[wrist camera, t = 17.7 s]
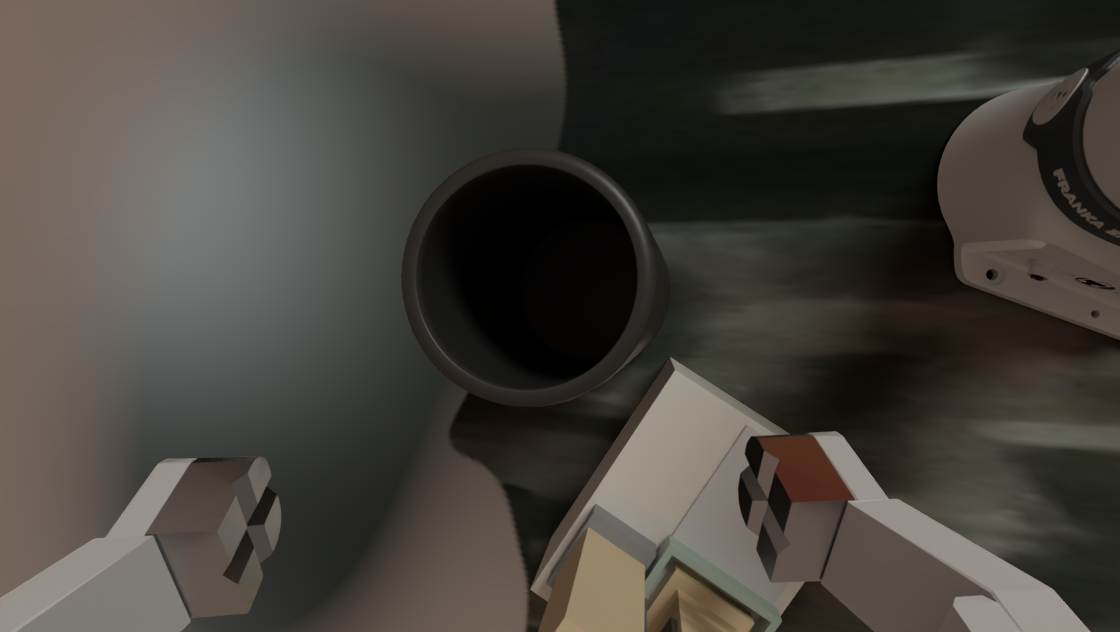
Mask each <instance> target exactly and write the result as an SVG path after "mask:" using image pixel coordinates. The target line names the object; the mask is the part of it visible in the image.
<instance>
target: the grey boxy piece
mask: <svg viewBox="0 0 1120 632" xmlns="http://www.w3.org/2000/svg"><path fill="white" fill-rule="evenodd" d="M787 434H789V433H788V432H786V431H785V430H783V429H781V428H780V427H778V426H777V425H775V424H774V423H772V422H771V421H769V420H767V419H766V418H764V417H763V416H761V415H760V414H758V413H756V412H755V411H753V410H752V409H750V408H749V407H747V406H746V405H744V404H742V403H741V402H739V401H738V400H736V399H735V398H733V397H732V396H730V395H728V394H727V393H725V392H724V391H722V390H721V389H719V388H717V387H716V386H714V385H713V384H711V383H710V382H708V381H707V380H705V379H703V378H702V377H700V376H699V375H697V374H696V373H694V372H693V371H691V370H689V369H688V368H686V367H685V366H683V365H682V364H680V363H678V362H677V361H675V360H674V359H672V358H671V357H670V358H669V359H668V361H667V362H666V364H665V365H664V367H663V368H662V370H661V371H660V373H659V374H658V376H657V377H656V379H655V381H654V382H653V384H652V385H651V387H650V388H649V390H648V391H647V393H646V394H645V396H644V397H643V399H642V400H641V402H640V403H639V405H638V406H637V408H636V409H635V411H634V412H633V414H632V415H631V417H630V419H629V420H628V422H627V423H626V425H625V426H624V428H623V429H622V431H621V432H620V434H619V435H618V437H617V438H616V440H615V441H614V443H613V444H612V446H611V447H610V449H609V450H608V452H607V453H606V455H605V457H604V458H603V460H602V461H601V463H600V464H599V466H598V467H597V469H596V470H595V472H594V473H593V475H592V476H591V478H590V479H589V481H588V482H587V484H586V485H585V487H584V488H583V490H582V491H581V493H580V495H579V496H578V498H577V499H576V501H575V502H574V504H573V505H572V507H571V508H570V510H569V511H568V513H567V514H566V516H565V517H564V519H563V520H562V522H561V523H560V525H559V526H558V528H557V529H556V531H555V533H554V534H553V536H552V537H551V540H550V542H549V544H548V547H547V549H546V552H545V554H544V557H543V559H542V562H541V564H540V567H539V569H538V572H537V574H536V576H535V579H534V581H533V584H532V586H531V589H530V590H532V591H533V592H534V593H536V594H537V595H539V596H540V597H542V598H543V599H544V600H546V601H547V602H548V603H547V606H546V609H545V612H544V615H543V618H542V621H541V624H540V627H539V630H538V632H647V601H648V599H649V598H650V596H651V595H652V593H653V592H654V590H655V589H656V587H657V586H658V585H659V583H660V582H661V580H662V579H663V577H664V576H665V574H666V573H667V571H668V570H669V568H670V567H671V566H672V564H673V563H674V561H677V562H678V563H680V564H681V565H683V566H684V567H686V568H687V569H689V570H690V571H692V572H693V573H694V574H696V575H697V576H699V577H700V578H702V579H703V580H705V581H706V582H708V583H709V584H711V585H712V586H713V587H715V588H716V589H718V590H719V591H721V592H722V593H724V594H725V595H727V596H728V597H730V598H731V599H733V600H734V601H735V602H737V603H738V604H740V605H741V606H743V607H744V608H746V609H747V610H749V611H750V612H751V614H752V617H753V620H754V625H753V626H752V627H751V629H750V630H749V632H775V631H776V629H777V628H778V626H779V625H780V624H781V622H782V619H781V617H780V616H781V615H782V613H783V612H784V610H785V609H786V608H787V606H788V605H789V603H790V602H791V601H792V599H793V598H794V596H795V595H796V594H797V592H798V591H799V589H800V588H801V587H802V585H803V584H804V582H775V583H771V582H770V580H769V578H768V576H767V573H766V571H765V569H764V566H763V564H762V562H761V560H760V557H759V555H758V553H757V550H756V547H757V542H758V538H759V537H758V536H757V535H756V534H754V533H753V532H752V531H750V530H749V529H748V528H747V527H746V525H745V522H744V520H743V517H742V514H741V510H740V506H739V499H738V484H739V478H740V473H741V472H742V471H743V470H744V469H745V468H746V467H748V466H749V463H748V461H747V459H746V456H745V454H744V453H745V449H746V444H747V442H748V440H749V438H750V437H751V436H766V435H787Z"/></svg>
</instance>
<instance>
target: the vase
mask: <svg viewBox="0 0 1120 632" xmlns="http://www.w3.org/2000/svg"><path fill="white" fill-rule="evenodd" d="M401 277H402V278H401V279H402V280H401V281H402V295H403V301H404V306H405V311H406V314H407V317H408V321H409V323H410V326H411V328H412V331H413V333H414V335H415V337H416V339H417V341H418V343H419V344H420V346H421V348H422V349H423V350H424V352H425V354H426V355H427V356H428V358H429V359H430V360H431V361H432V363H433V364H434V365H435V366H436V367H437V368H438V369H439V370H440V371H441V372H442V373H443V374H444V375H445V376H447V377H448V378H449V379H450V380H451V381H452V382H454V383H456V384H457V385H458V386H460V387H461V388H463V389H464V390H466V391H468V392H470V393H472V394H474V395H476V396H478V397H481V398H483V399H485V400H488V401H492V402H495V403H498V404H503V405H508V406H516V407H542V406H549V405H555V404H559V403H563V402H566V401H569V400H572V399H575V398H577V397H580V396H582V395H584V394H586V393H588V392H590V391H591V390H593V389H595V388H597V387H598V386H600V385H601V384H603V383H604V382H606V381H607V380H609V379H610V378H611V377H612V376H614V375H615V374H616V373H617V372H618V371H620V370H621V369H622V368H623V367H624V366H625V365H626V364H628V363H629V362H630V361H631V360H632V359H633V358H635V357H636V356H637V355H638V354H639V353H640V352H642V351H643V350H644V349H645V348H646V347H647V346H648V345H649V343H650V342H651V341H652V340H653V339H654V337H655V336H656V334H657V333H658V331H659V329H660V327H661V326H662V324H663V321H664V319H665V316H666V313H667V310H668V305H669V298H670V281H669V274H668V269H667V266H666V263H665V260H664V258H663V256H662V253H661V251H660V249H659V247H658V245H657V243H656V241H655V239H654V237H653V235H652V233H651V231H650V229H649V227H648V225H647V224H646V221H645V220H644V218H643V216H642V214H641V212H640V211H639V209H638V208H637V207H636V205H635V204H634V202H633V201H632V200H631V198H630V197H629V196H628V195H627V193H626V192H625V191H624V190H623V189H622V188H621V187H620V186H619V185H618V184H617V183H616V182H615V181H614V180H613V179H612V178H611V177H610V176H608V175H607V174H606V173H604V172H603V171H602V170H600V169H599V168H597V167H595V166H594V165H592V164H591V163H589V162H587V161H585V160H583V159H581V158H578V157H575V156H573V155H570V154H567V153H564V152H560V151H556V150H550V149H544V148H516V149H509V150H503V151H499V152H495V153H492V154H489V155H486V156H483V157H481V158H479V159H476V160H474V161H472V162H470V163H468V164H467V165H465V166H463V167H462V168H460V169H458V170H457V171H456V172H454V173H453V174H452V175H451V176H449V177H448V178H447V179H446V180H445V181H444V182H442V183H441V184H440V185H439V186H438V187H437V188H436V190H435V191H434V192H433V193H432V194H431V195H430V197H429V198H428V199H427V201H426V202H425V203H424V205H423V207H422V208H421V210H420V211H419V213H418V215H417V217H416V219H415V221H414V223H413V225H412V227H411V230H410V233H409V235H408V238H407V242H406V245H405V249H404V255H403V261H402V273H401Z"/></svg>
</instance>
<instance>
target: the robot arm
mask: <svg viewBox="0 0 1120 632" xmlns="http://www.w3.org/2000/svg"><path fill="white" fill-rule="evenodd" d="M937 191H938V199H939V204H940V208H941V211H942V214H943V217H944V219H945V221H946V223H947V226H948V228H949V230H950V232H951V235H952V237H953V241H954V267H955V272H956V275H957V277H958V279H959V280H960V281H961V282H962V283H964V284H966V285H969V286H971V287H974V288H977V289H980V290H982V291H985V292H988V293H991V294H993V295H996V296H999V297H1002V298H1005V299H1007V300H1010V301H1013V302H1016V303H1018V304H1021V305H1024V306H1027V307H1029V308H1032V309H1035V310H1038V311H1040V312H1043V313H1046V314H1049V315H1052V316H1054V317H1057V318H1060V319H1063V320H1065V321H1068V322H1071V323H1074V324H1076V325H1079V326H1082V327H1085V328H1088V329H1090V330H1093V331H1096V332H1099V333H1101V334H1104V335H1107V336H1110V337H1112V338H1115V339H1118V340H1120V49H1118V50H1116V51H1114V52H1112V53H1111V54H1109V55H1107V56H1105V57H1103V58H1101V59H1099V60H1097V61H1095V62H1093V63H1092V64H1090V65H1088V66H1086V67H1085V68H1083V69H1081V70H1079V71H1077V72H1076V73H1074V74H1072V75H1071V76H1069V77H1068V78H1066V79H1065V80H1063V81H1060V82H1057V83H1053V84H1049V85H1044V86H1039V87H1032V88H1026V89H1020V90H1016V91H1012V92H1009V93H1006V94H1003V95H1001V96H998V97H996V98H994V99H992V100H990V101H988V102H987V103H985V104H983V105H982V106H980V107H979V108H978V109H976V110H975V111H974V112H972V113H971V114H970V115H969V116H968V117H967V118H966V119H965V120H964V121H963V122H962V123H961V124H960V125H959V127H958V128H957V129H956V131H955V132H954V133H953V135H952V136H951V138H950V140H949V142H948V143H947V145H946V147H945V150H944V152H943V155H942V158H941V161H940V165H939V170H938V178H937ZM988 270H991V271H992V272H993V277H992V279H990V280H989V279H988V278H987V277H986V273H987V271H988ZM744 454H745V456H746V459H747V461H748V463H749V466H748V467H746V468H745V469H744V470H743V471H742V472H741V473H740V478H739V484H738V499H739V506H740V510H741V514H742V517H743V520H744V522H745V525H746V527H747V528H748V529H749V530H750V531H752V532H753V533H754V534H756V535H757V536H758V537H759V538H758V542H757V547H756V550H757V553H758V555H759V557H760V560H761V562H762V564H763V566H764V569H765V571H766V573H767V576H768V578H769V580H770V582H771V583H775V582H808V581H821V584H822V585H823V586H824V587H825V588H826V589H827V590H828V591H829V592H831V593H832V594H833V595H834V596H835V597H836V598H837V599H838V600H839V601H841V602H842V603H843V604H844V605H845V606H846V607H847V608H848V609H849V610H850V611H852V612H853V613H854V614H855V615H856V616H857V617H858V618H859V619H860V620H862V621H863V622H864V623H865V624H866V625H867V626H868V627H869V628H870V629H872V630H873V631H874V632H1090V631H1089V630H1088V629H1087V627H1086V626H1085V625H1084V624H1083V623H1082V622H1081V621H1080V619H1079V618H1078V617H1077V616H1076V615H1075V614H1074V613H1073V611H1072V610H1071V609H1070V608H1069V607H1068V606H1067V605H1066V603H1065V602H1064V601H1063V600H1062V599H1061V598H1060V597H1059V596H1058V594H1057V593H1056V592H1055V591H1054V590H1053V589H1052V588H1050V587H1048V586H1047V585H1045V584H1043V583H1041V582H1040V581H1038V580H1036V579H1035V578H1033V577H1031V576H1029V575H1028V574H1026V573H1024V572H1023V571H1021V570H1019V569H1017V568H1016V567H1014V566H1012V565H1010V564H1009V563H1007V562H1005V561H1004V560H1002V559H1000V558H998V557H997V556H995V555H993V554H992V553H990V552H988V551H986V550H985V549H983V548H981V547H980V546H978V545H976V544H974V543H973V542H971V541H969V540H968V539H966V538H964V537H962V536H961V535H959V534H957V533H955V532H954V531H952V530H950V529H949V528H947V527H945V526H943V525H942V524H940V523H938V522H937V521H935V520H933V519H931V518H930V517H928V516H926V515H925V514H923V513H921V512H919V511H918V510H916V509H914V508H913V507H911V506H909V505H907V504H906V503H904V502H902V501H900V500H899V499H888V497H887V496H886V495H885V493H884V492H883V490H882V489H881V488H880V486H879V485H878V484H877V482H876V481H875V480H874V478H873V477H872V475H871V474H870V473H869V471H868V470H867V469H866V467H865V466H864V464H863V463H862V462H861V460H860V459H859V458H858V456H857V455H856V454H855V452H854V451H853V449H852V448H851V447H850V445H849V444H848V443H847V441H846V440H845V438H844V437H843V436H842V435H841V434H839V433H838V432H836V431H832V432H815V433H807V434H787V435H766V436H751V437H750V438H749V440H748V442H747V444H746V449H745V453H744ZM270 476H271V473H270V469H269V466H268V463H267V460H266V459H264V458H262V457H210V458H209V457H208V458H198V459H196V458H195V459H194V458H189V459H166V460H164V461H162V462H160V463H159V464H157V466H156V467H155V468H154V470H153V471H152V473H151V474H150V475H149V477H148V478H147V480H146V481H145V482H144V484H143V485H142V487H141V488H140V490H139V491H138V492H137V494H136V495H135V496H134V498H133V499H132V501H131V502H130V503H129V505H128V506H127V508H126V509H125V510H124V512H123V513H122V515H121V516H120V517H119V519H118V520H117V522H116V523H115V525H114V526H113V527H112V529H111V530H110V532H109V533H108V534H107V536H106V537H105V538H95V539H93V540H91V541H90V542H88V543H87V544H85V545H83V546H82V547H80V548H79V549H77V550H75V551H74V552H72V553H71V554H69V555H68V556H66V557H65V558H63V559H61V560H60V561H58V562H57V563H55V564H53V565H52V566H50V567H49V568H47V569H45V570H44V571H42V572H41V573H39V574H38V575H36V576H34V577H33V578H31V579H30V580H28V581H26V582H25V583H24V584H22V585H20V586H19V587H17V588H15V589H14V590H12V591H11V592H9V593H8V594H6V595H4V596H3V597H1V598H0V632H181V631H182V630H183V629H184V628H185V627H186V626H187V625H188V624H189V623H190V622H191V619H190V618H199V617H210V616H222V615H233V614H245V613H248V612H249V610H250V608H251V605H252V603H253V600H254V598H255V595H256V593H257V591H258V588H259V586H260V583H261V581H262V578H263V573H262V570H261V567H260V563H261V562H262V561H263V560H264V559H266V558H267V557H268V556H269V555H270V554H271V553H273V551H274V548H275V545H276V543H277V540H278V537H279V530H280V524H281V510H280V503H279V499H278V496H277V494H276V493H274V492H273V491H272V490H271V489H269V488H268V487H267V486H266V485H267V483H268V481H269V479H270Z"/></svg>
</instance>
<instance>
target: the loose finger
mask: <svg viewBox="0 0 1120 632" xmlns="http://www.w3.org/2000/svg"><path fill="white" fill-rule="evenodd" d="M753 625H754V620H753V617H752V614H751V612H750V611H749V610H747V609H746V608H744V607H743V606H741V605H740V604H738V603H737V602H735V601H734V600H733V599H731V598H730V597H728V596H727V595H725V594H724V593H722V592H721V591H719V590H718V589H716V588H715V587H713V586H712V585H711V584H709V583H708V582H706V581H705V580H703V579H702V578H700V577H699V576H697V575H696V574H694V573H693V572H692V571H690V570H689V569H687V568H686V567H684V566H683V565H681V564H680V563H678V562H677V561H674V563H673V564H672V566H671V567H670V568H669V570H668V571H667V573H666V574H665V576H664V577H663V579H662V580H661V582H660V583H659V585H658V586H657V587H656V589H655V590H654V592H653V593H652V595H651V596H650V598H649V599H648V601H647V632H749V630H750V629H751V627H752V626H753Z"/></svg>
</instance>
